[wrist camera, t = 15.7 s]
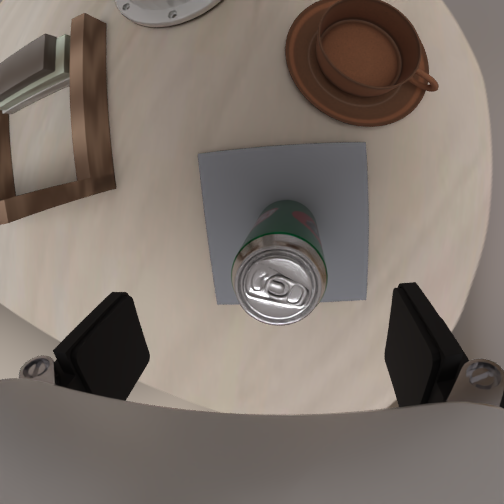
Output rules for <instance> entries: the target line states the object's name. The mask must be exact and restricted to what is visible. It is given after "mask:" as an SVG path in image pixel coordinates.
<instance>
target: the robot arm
mask: <svg viewBox="0 0 504 504" xmlns="http://www.w3.org/2000/svg"><path fill="white" fill-rule="evenodd" d="M220 1H221V0H115V3H116V5H117V8H118V9H119V11H120V12H121V14H122V15H124V16H125V17H126V18H128V19H129V20H131V21H133V22H134V23H136V24H139V25H143V26H147V27H167V26H172V25H176V24H180V23H183V22H186V21H189V20H191V19H194V18H195V17H197V16H199V15H201V14H203V13H205V12H206V11H208V10H209V9H211V8H212V7H214V6H215V5H216V4H218V3H219V2H220ZM175 16H176V17H175ZM53 352H54V354H55V356H56V358H57V360H56V361H55V362H54V361H53V359H52V358H51V357H49V356H37V357H35V358H32V359H30V360H29V361H27V362H26V363H25V364H24V365H23V366H22V367H21V369H20V372H19V378H10V379H2V380H0V504H504V370H503V369H502V368H501V367H500V366H499V365H498V364H496V363H495V362H493V361H490V360H487V359H473V360H470V361H469V360H468V358H467V356H466V355H465V353H464V352H463V350H462V348H461V347H460V345H459V344H458V342H457V340H456V339H455V338H454V336H453V334H452V333H451V331H450V330H449V328H448V327H447V325H446V324H445V322H444V321H443V319H442V318H441V317H440V316H439V315H438V313H437V312H436V310H435V309H434V307H433V306H432V305H431V303H430V302H429V300H428V299H427V297H426V296H425V295H424V293H423V292H422V290H421V289H420V288H419V286H418V285H417V284H416V283H415V282H413V283H400V284H399V286H398V288H394V290H393V296H392V305H391V313H390V321H389V328H388V335H387V341H386V347H385V362H386V365H387V368H388V371H389V375H390V378H391V381H392V384H393V388H394V391H395V394H396V398H397V401H398V404H399V407H397V408H386V409H377V410H368V411H357V412H345V413H328V414H300V415H264V414H236V413H220V412H206V411H196V410H186V409H177V408H169V407H161V406H155V405H148V404H142V403H135V402H130V401H126V399H127V397H128V396H129V394H130V392H131V391H132V389H133V387H134V385H135V384H136V382H137V381H138V379H139V377H140V376H141V374H142V372H143V371H144V369H145V367H146V366H147V364H148V362H149V359H150V354H149V350H148V347H147V344H146V341H145V338H144V335H143V332H142V329H141V325H140V322H139V319H138V315H137V312H136V308H135V305H134V301H133V299H132V297H131V296H129V295H128V293H126V292H112V293H111V294H110V295H108V296H107V297H106V298H105V299H104V300H103V301H102V302H101V303H100V304H99V305H98V306H97V307H96V308H95V309H94V310H93V311H92V312H91V313H90V314H89V315H88V316H87V317H86V318H85V319H84V320H83V321H82V322H81V323H80V324H79V325H78V326H77V327H76V328H75V329H74V330H73V331H72V332H71V333H70V334H69V335H68V336H67V337H66V338H65V339H64V340H63V341H62V342H61V343H60V344H59V345H58V346H57V347H56V348H55V349H54V350H53Z"/></svg>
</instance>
